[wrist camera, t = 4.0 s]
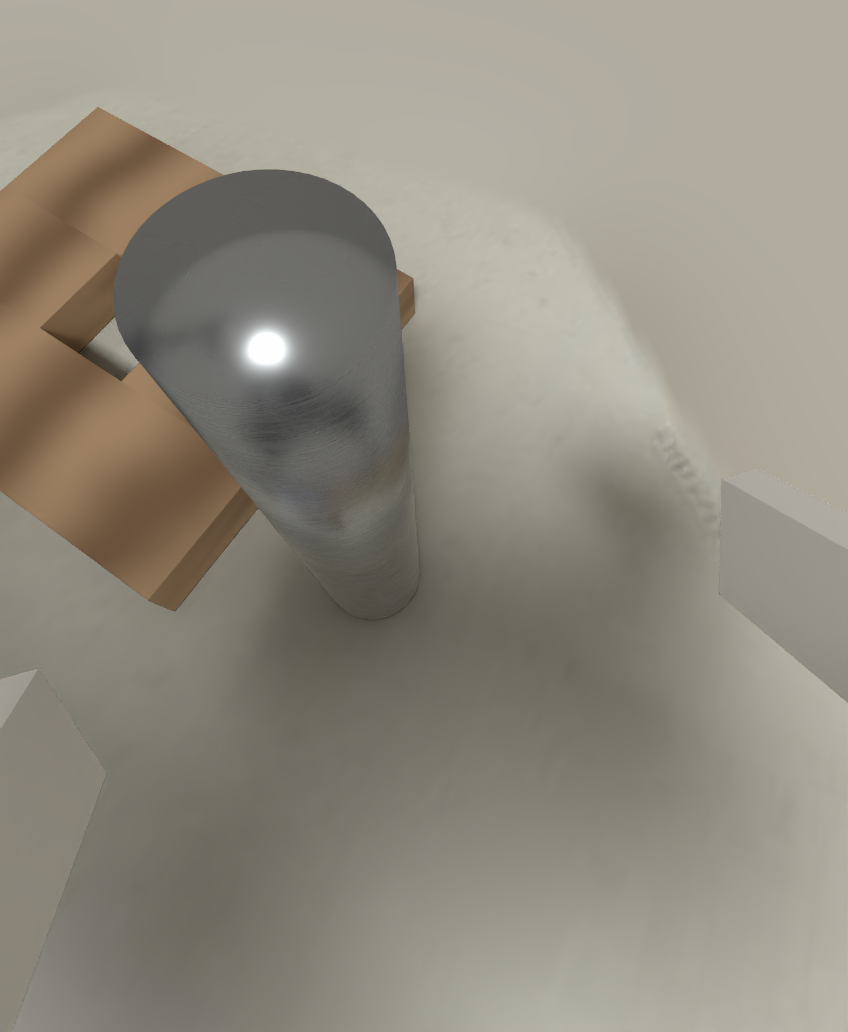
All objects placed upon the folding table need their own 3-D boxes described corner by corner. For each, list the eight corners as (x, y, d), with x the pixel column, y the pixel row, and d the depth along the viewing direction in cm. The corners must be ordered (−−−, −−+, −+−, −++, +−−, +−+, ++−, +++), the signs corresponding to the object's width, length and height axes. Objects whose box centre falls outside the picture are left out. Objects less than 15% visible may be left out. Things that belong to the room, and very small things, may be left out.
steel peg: (307, 585, 25) (53, 309, 8) (362, 511, 26) (236, 132, 9) (384, 638, 24) (277, 454, 7) (437, 560, 26) (450, 243, 9)
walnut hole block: (-136, 382, 29) (-186, 352, 26) (121, 150, 33) (97, 106, 31) (174, 611, 25) (147, 600, 23) (414, 313, 30) (413, 278, 27)
